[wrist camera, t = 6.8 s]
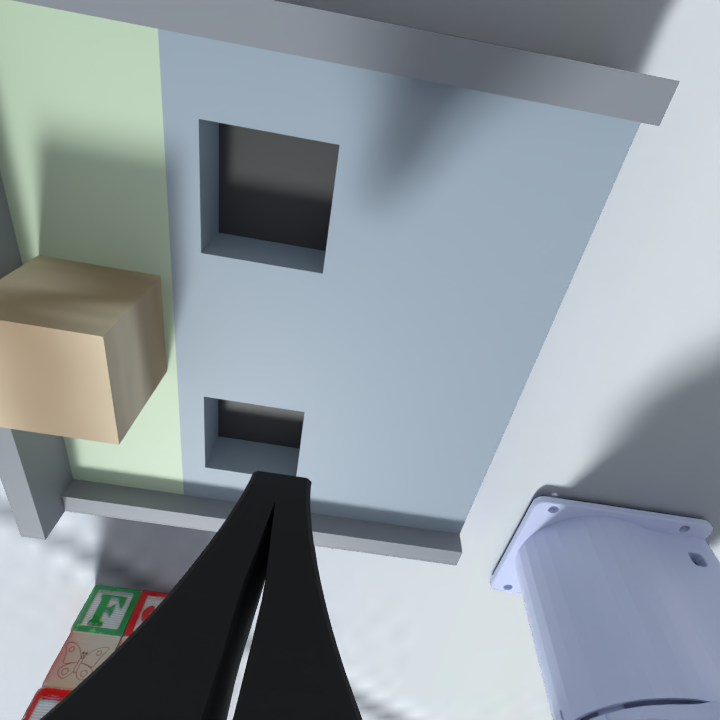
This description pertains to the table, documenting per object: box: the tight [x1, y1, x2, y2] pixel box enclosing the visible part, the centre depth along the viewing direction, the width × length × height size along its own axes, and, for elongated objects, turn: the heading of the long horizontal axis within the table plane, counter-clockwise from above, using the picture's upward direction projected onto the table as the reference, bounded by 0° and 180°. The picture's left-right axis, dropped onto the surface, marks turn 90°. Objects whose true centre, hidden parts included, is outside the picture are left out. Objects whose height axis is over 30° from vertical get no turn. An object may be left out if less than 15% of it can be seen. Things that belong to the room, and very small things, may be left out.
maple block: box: [0, 255, 167, 445], centre depth 16 cm, size 4×4×4 cm
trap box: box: [0, 0, 680, 565], centre depth 18 cm, size 19×20×5 cm
